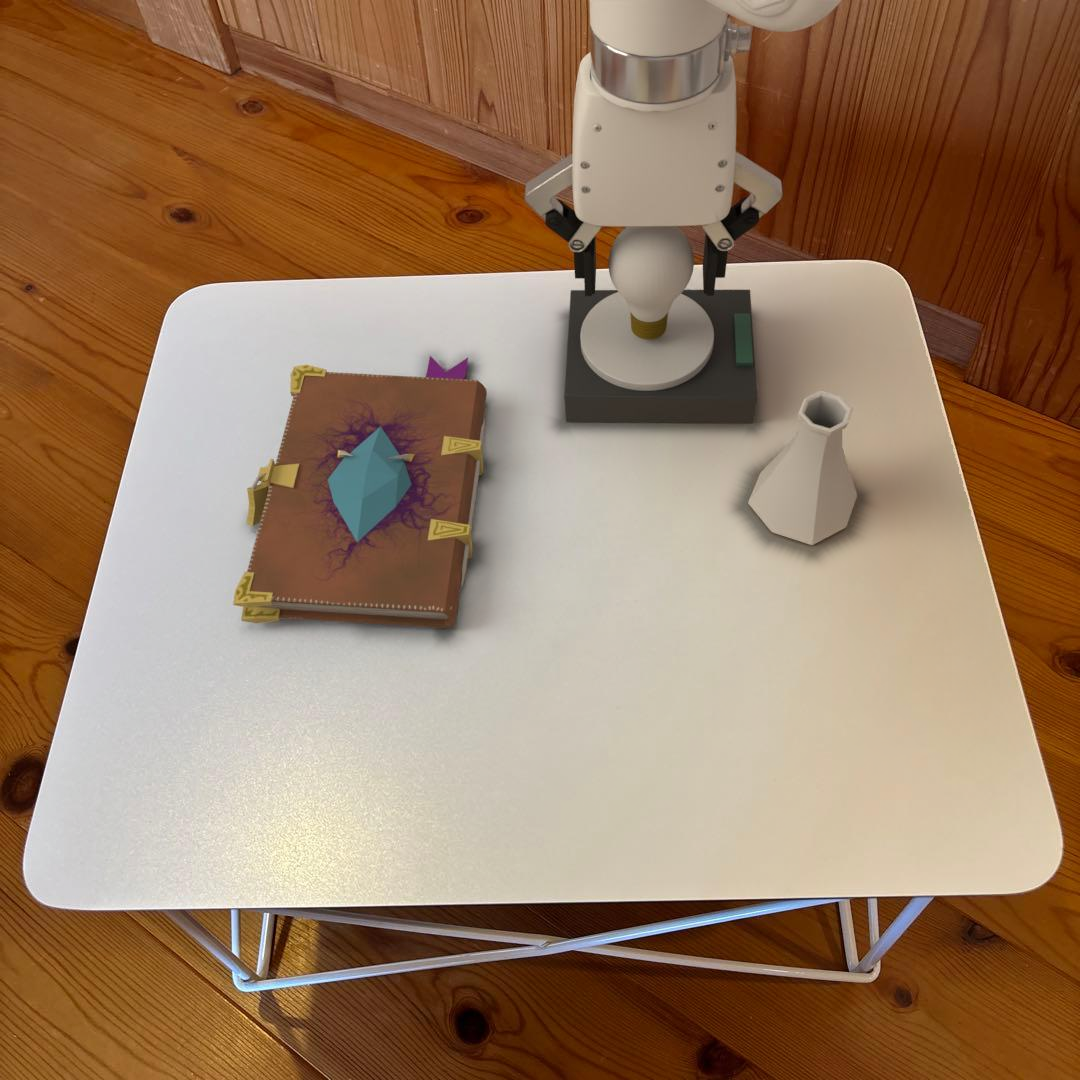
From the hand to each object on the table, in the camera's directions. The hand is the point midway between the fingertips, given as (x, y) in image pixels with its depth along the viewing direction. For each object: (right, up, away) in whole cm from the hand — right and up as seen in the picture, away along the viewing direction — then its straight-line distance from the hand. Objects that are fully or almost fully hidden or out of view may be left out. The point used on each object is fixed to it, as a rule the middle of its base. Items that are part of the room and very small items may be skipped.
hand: (649, 281), depth 74 cm
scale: (+2, -5, +8) cm, 9 cm away
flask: (+11, -16, 0) cm, 19 cm away
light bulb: (0, -3, +5) cm, 5 cm away
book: (-20, -14, +3) cm, 25 cm away
